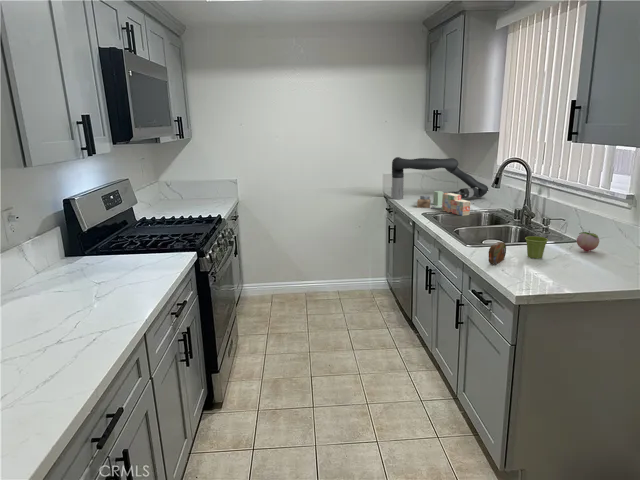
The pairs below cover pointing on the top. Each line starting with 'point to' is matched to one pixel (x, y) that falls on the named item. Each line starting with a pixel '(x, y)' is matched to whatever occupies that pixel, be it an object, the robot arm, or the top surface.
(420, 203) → the walnut plinth
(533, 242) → the plant pot
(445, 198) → the stack of blocks
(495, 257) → the tin
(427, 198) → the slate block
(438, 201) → the sage block
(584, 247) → the decorative fruit
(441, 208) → the swatch card
